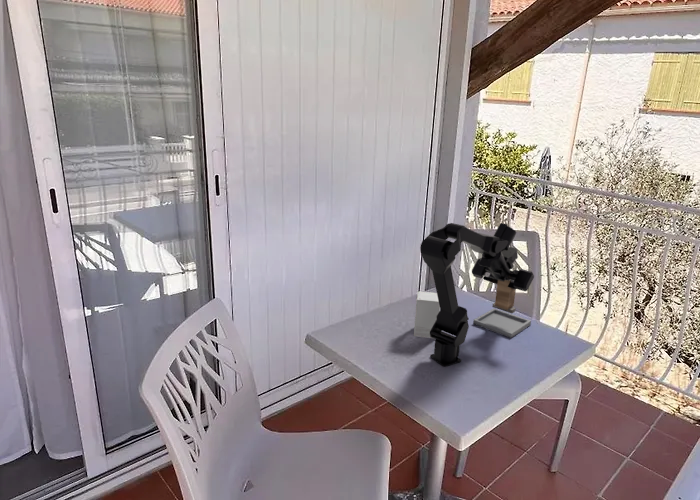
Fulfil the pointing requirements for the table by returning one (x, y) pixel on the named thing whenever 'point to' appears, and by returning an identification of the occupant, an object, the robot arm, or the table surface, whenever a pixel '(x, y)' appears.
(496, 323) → the box
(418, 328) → the supplement box
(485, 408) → the table surface
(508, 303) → the tan slab
